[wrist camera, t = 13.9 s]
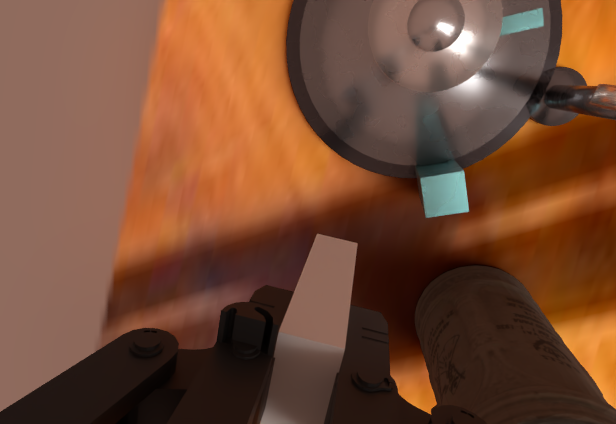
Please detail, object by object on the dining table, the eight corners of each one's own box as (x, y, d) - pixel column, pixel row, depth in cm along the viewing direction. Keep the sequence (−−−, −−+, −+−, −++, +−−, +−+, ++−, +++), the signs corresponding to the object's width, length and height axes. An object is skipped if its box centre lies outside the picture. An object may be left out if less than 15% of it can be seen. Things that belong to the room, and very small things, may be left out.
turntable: (282, -46, 34) (261, -71, 28) (531, -120, 30) (566, -167, 24) (335, 215, 39) (327, 238, 34) (551, 181, 35) (584, 201, 30)
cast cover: (447, 107, 33) (463, 114, 27) (352, 63, 33) (344, 59, 27) (504, 1, 31) (538, -21, 24) (401, -47, 31) (406, -81, 24)
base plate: (332, 204, 40) (331, 206, 39) (252, -36, 35) (249, -39, 34) (581, 133, 35) (585, 134, 34) (526, -159, 30) (530, -165, 29)
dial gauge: (567, 131, 35) (686, 166, 21) (513, 115, 35) (597, 139, 22) (593, 76, 34) (740, 75, 20) (537, 60, 34) (643, 48, 20)
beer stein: (433, 244, 40) (478, 395, 21) (554, 271, 39) (719, 457, 20) (392, 381, 44) (399, 604, 26) (499, 409, 43) (589, 663, 25)
